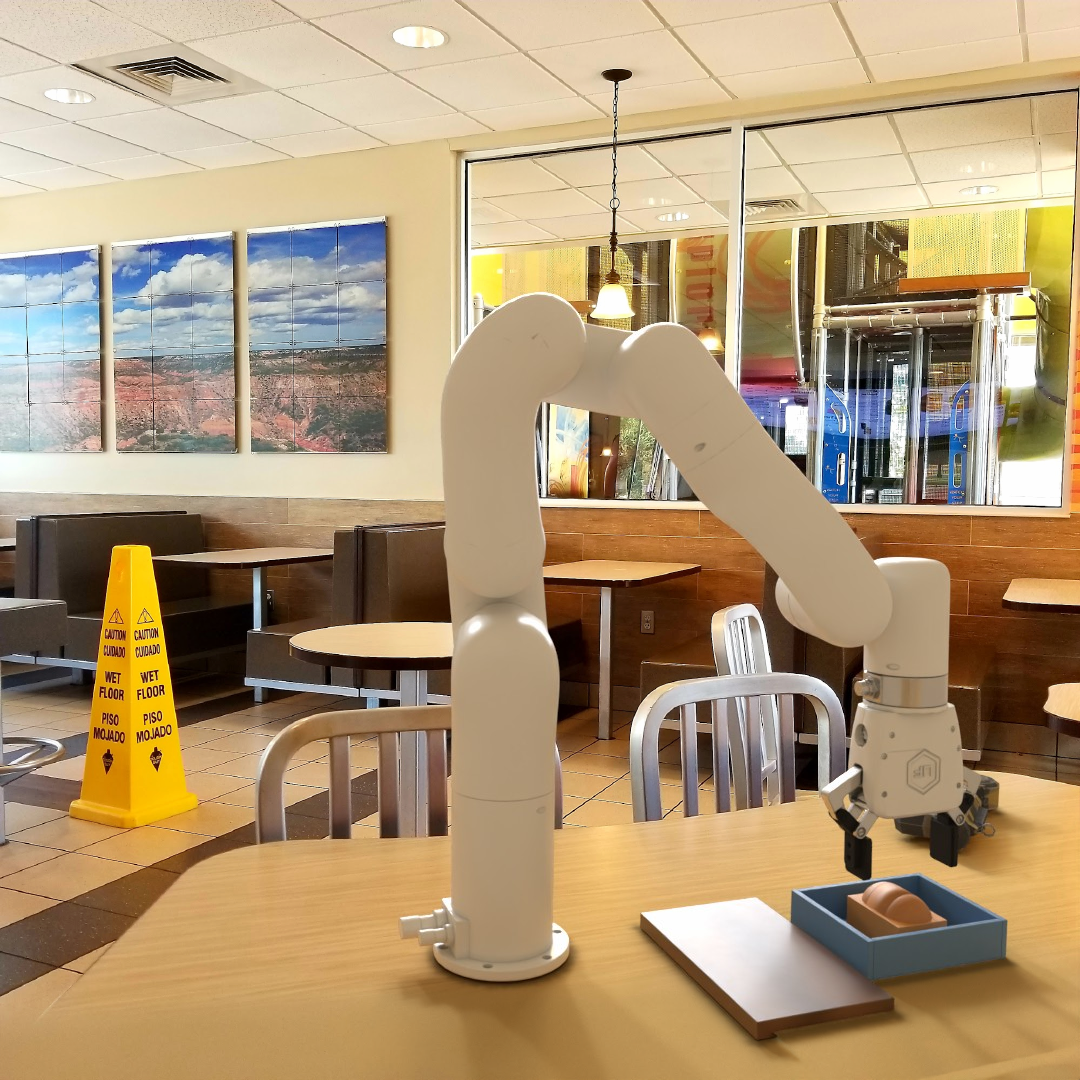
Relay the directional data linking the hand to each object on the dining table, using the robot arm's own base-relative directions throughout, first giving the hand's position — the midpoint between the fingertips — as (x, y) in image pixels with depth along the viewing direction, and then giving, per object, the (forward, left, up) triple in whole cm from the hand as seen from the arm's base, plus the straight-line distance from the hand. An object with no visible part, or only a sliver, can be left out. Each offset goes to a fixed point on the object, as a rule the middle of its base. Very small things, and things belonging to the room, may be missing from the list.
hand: (901, 868), depth 101 cm
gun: (+30, +30, -8) cm, 43 cm away
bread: (0, 0, -7) cm, 7 cm away
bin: (0, 0, -7) cm, 7 cm away
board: (-15, 0, -7) cm, 17 cm away
